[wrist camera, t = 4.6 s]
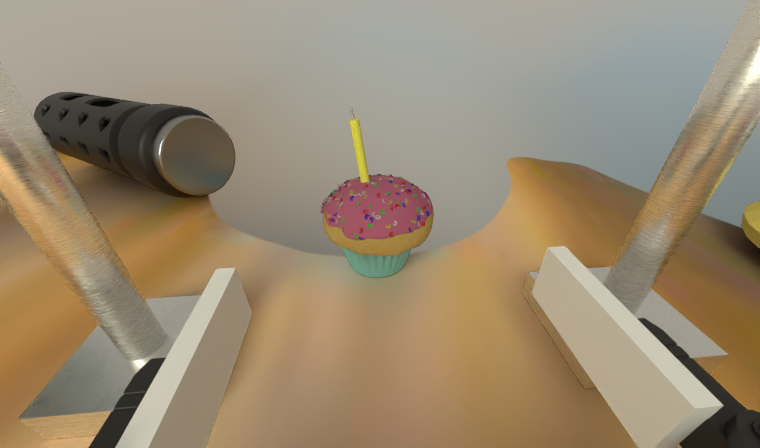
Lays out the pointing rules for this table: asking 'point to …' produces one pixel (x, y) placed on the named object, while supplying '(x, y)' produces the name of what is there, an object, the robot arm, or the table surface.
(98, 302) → the post
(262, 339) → the table surface
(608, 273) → the post
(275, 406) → the table surface
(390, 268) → the cupcake
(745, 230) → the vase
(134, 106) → the muzzle brake
